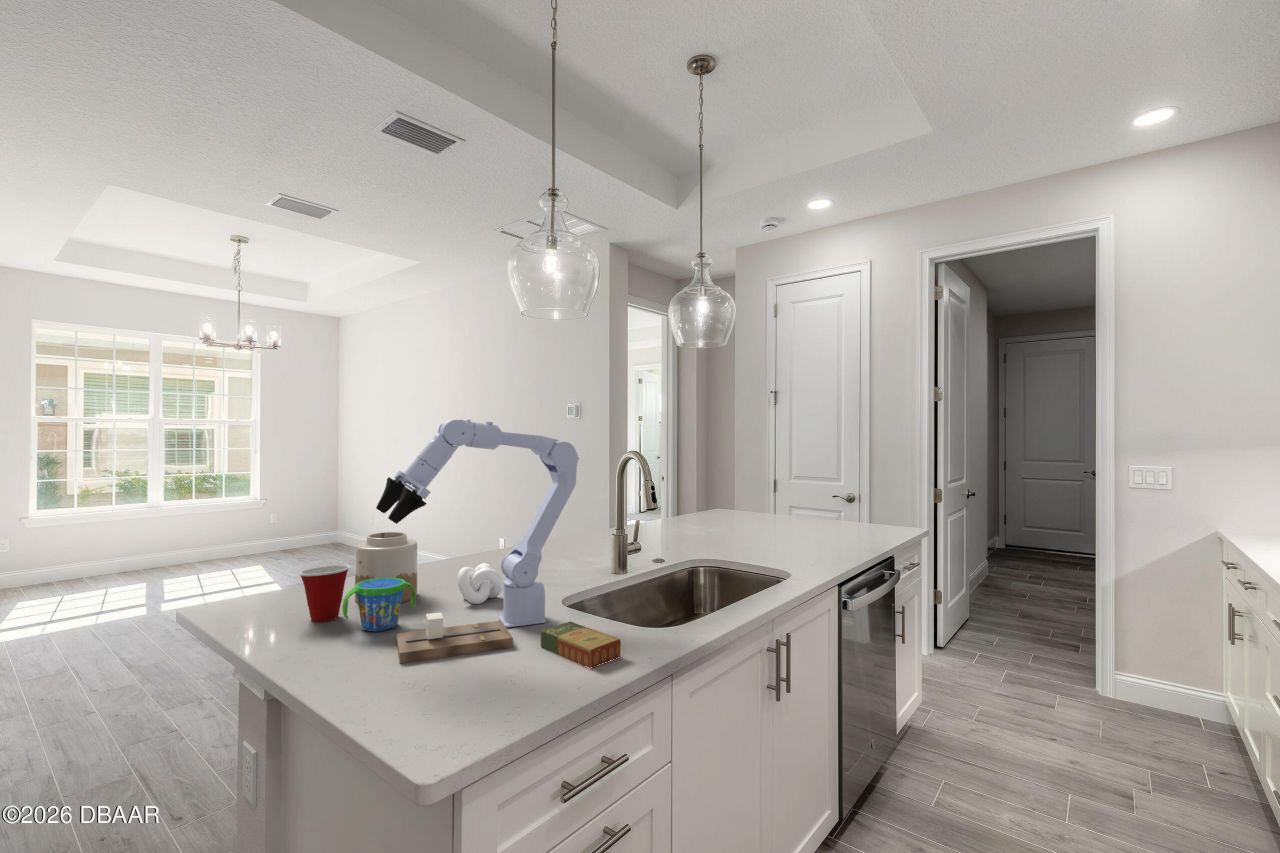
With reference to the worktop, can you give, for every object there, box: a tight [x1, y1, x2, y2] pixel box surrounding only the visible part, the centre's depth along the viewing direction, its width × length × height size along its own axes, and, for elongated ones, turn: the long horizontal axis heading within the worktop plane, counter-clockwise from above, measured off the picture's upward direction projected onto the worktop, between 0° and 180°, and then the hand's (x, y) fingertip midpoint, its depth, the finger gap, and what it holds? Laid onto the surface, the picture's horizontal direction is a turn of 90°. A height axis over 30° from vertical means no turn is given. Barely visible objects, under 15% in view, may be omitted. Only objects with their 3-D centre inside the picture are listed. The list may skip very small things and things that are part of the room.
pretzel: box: [456, 562, 504, 605], centre depth 160 cm, size 11×12×9 cm
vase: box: [354, 531, 418, 604], centre depth 161 cm, size 15×15×17 cm
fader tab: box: [425, 612, 444, 639], centre depth 125 cm, size 3×4×4 cm
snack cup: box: [342, 578, 417, 632], centre depth 138 cm, size 16×10×10 cm
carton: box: [540, 621, 622, 669], centre depth 124 cm, size 8×16×4 cm, turn 46°
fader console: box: [396, 620, 514, 664], centre depth 127 cm, size 22×12×2 cm, turn 114°
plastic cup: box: [298, 564, 350, 623], centre depth 144 cm, size 11×11×12 cm
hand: (385, 515), depth 128 cm, fingers open, 7 cm apart
